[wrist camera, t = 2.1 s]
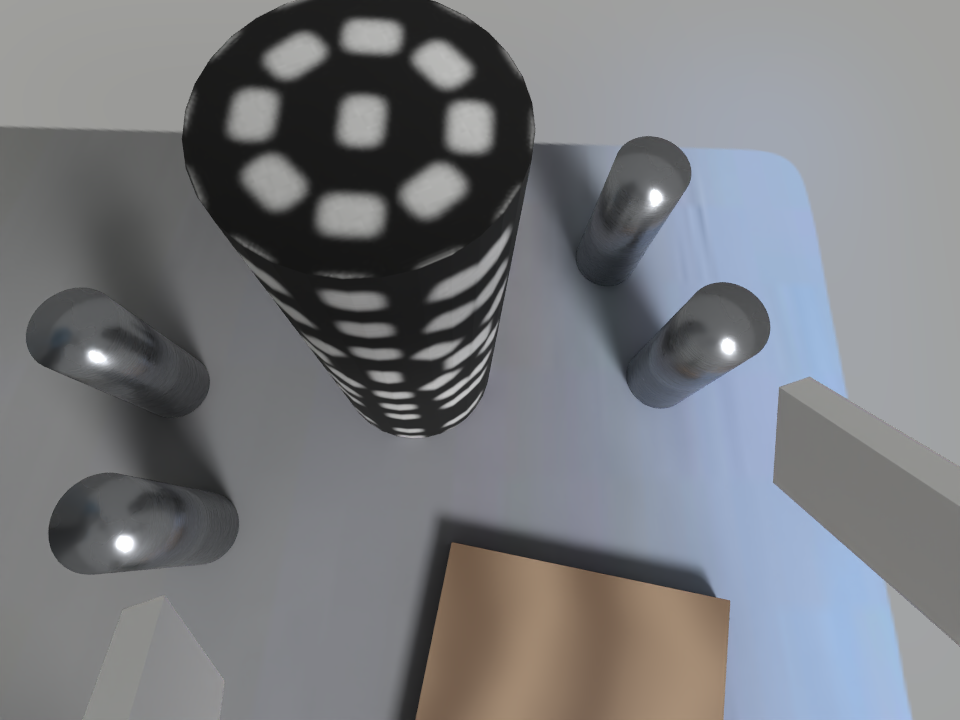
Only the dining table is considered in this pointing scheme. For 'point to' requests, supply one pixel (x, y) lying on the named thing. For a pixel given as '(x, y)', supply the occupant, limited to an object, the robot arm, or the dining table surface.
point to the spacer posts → (185, 381)
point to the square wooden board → (570, 645)
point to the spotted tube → (372, 191)
